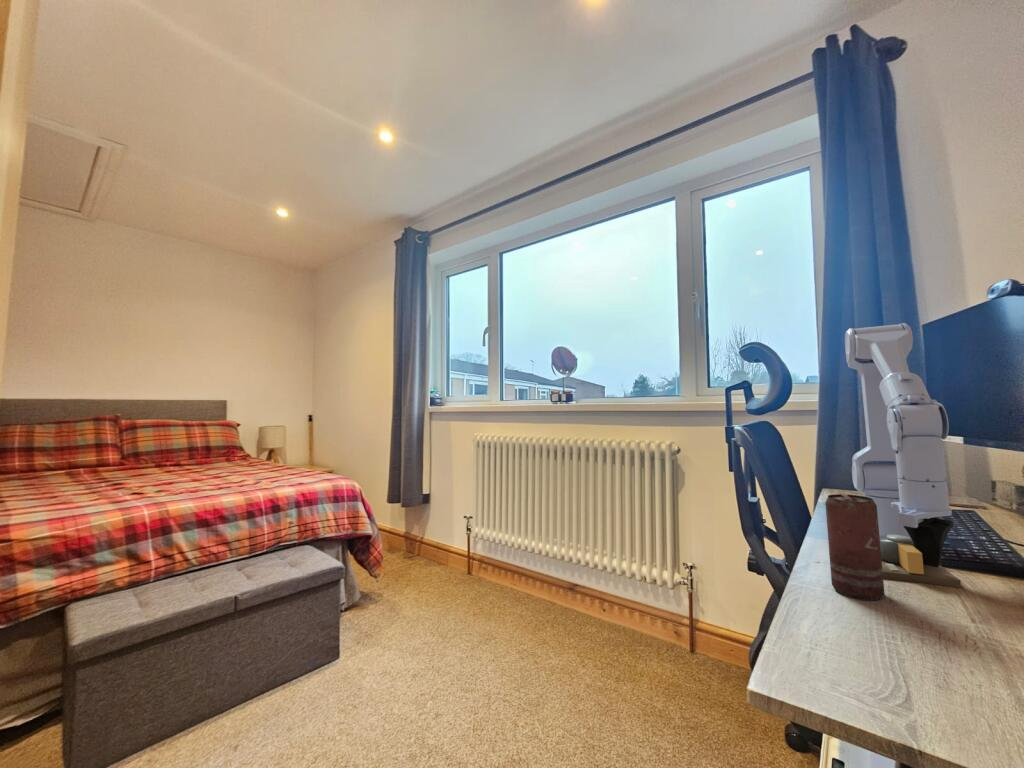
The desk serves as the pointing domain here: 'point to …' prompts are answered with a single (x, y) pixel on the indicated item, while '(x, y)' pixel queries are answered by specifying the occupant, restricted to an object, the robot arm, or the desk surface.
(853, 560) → the can
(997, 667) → the desk surface
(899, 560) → the toy saucepan
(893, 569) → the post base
